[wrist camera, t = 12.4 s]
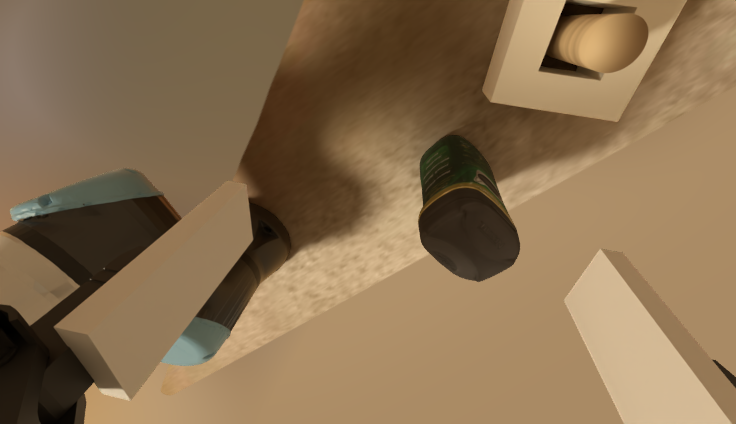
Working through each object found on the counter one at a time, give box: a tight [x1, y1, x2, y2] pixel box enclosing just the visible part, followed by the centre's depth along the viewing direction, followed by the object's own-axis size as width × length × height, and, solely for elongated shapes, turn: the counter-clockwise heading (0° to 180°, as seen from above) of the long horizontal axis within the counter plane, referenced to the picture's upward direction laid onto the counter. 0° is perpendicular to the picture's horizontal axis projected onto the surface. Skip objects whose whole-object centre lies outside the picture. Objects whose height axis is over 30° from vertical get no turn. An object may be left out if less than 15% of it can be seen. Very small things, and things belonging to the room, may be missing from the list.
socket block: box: [482, 0, 687, 122], centre depth 31 cm, size 13×13×6 cm
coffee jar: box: [418, 135, 520, 282], centre depth 36 cm, size 10×8×19 cm
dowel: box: [545, 13, 649, 73], centre depth 28 cm, size 4×4×12 cm
